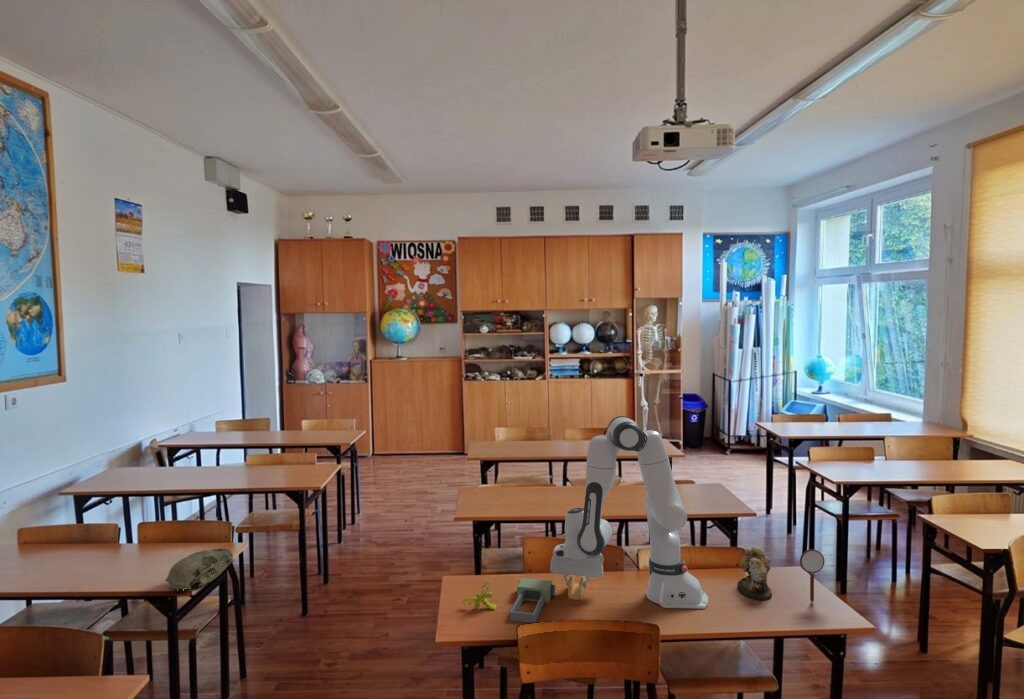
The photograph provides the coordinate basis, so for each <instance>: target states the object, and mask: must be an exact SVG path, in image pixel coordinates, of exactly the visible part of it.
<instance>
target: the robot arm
mask: <svg viewBox="0 0 1024 699" xmlns="http://www.w3.org/2000/svg"><path fill="white" fill-rule="evenodd" d="M620 450H623V451H626V452H636V455H637V460H638V463H639V467H640V474H641V477H642V481H643V485H644V487H645V490H646V492H647V493H646V494H645V497H644V504H645V505H644V506H645V510H646V518H647V527H648V532H649V545H650V546H649V553H650V554H649V555H650V556H649V558H648V559H649V560H648V572H649V579H648V586H647V590H646V593H645V595H646V598H647V599H648V600H649V601H651V602H653V603H655V604H658V605H659V606H660V607H662V608H664V609H706V608H707V607H708V606H709V597H708V594H707V593H706V592H705V591H703V589H702V586H701V584H700V581H699V580H698V578H696V577H695V576H694V575H692V574H691V573H690V572H689V571H688V567H687V564H686V561H685V560H682V559H681V538H680V535H679V531H680V530H681V529H683V528H684V527H685V526H686V524H687V521H688V515H687V511H686V508H685V507H684V504H683V501H682V498H681V495H680V492H679V489H678V487H677V484H676V480H675V479H674V476H673V473H672V472H673V471H672V467H671V463H670V458H669V454H668V450H667V447H666V445H665V441H664V440H663V437H662V435H661V434H660V433H659V432H658V431H656V430H652V429H648V430H643V429H641V427H640V426H639V425H638V423H637V422H635V421H634V420H633V419H632V418H630V417H628V416H624V415H619V416H616V417H614V418H613V419H611V420H610V422H609V424H608V425H607V427H606V428H605V430H604V432H603V434H600V435H595V436H593V437H592V438H591V439H590V441H589V444H588V448H587V453H586V454H587V455H586V469H585V471H586V473H585V476H586V477H585V481H586V482H585V497H584V504H583V505H584V506H583V507H576V508H571V509H569V511H567V512H566V514H565V517H564V519H565V521H564V534H565V540H564V543H562V544H557V545H556V546H555V547H554V549H553V552H552V553H553V555H552V557H551V558H550V559H551V560H550V565H549V566H550V572H551V573H552V574H557V575H563V579H564V580H565V582H566V583H565V584H566V586H567V587H568V581H569V579H570V578H569V577H568V576H571V575H575V577H577V576H578V577H582V576H585V581H583V587H585V588H588V582H590V579H591V578H598V579H599V578H602V577H604V576H603V575H604V565H603V564H604V561H605V560H604V559H605V558H604V555H603V554H602V552H603V550H604V549H605V547H606V545H607V544H608V543H609V542H610V541H611V539H612V537H613V536H614V535H613V534H614V531H613V527H612V525H611V523H610V522H609V521H608V520H607V519H605V518H602V510H603V504H604V500H605V499H606V498H605V497H606V496H607V494H608V493H609V491H610V489H611V488H612V486H613V485H614V482H615V478H616V470H617V456H618V453H619V451H620Z"/></svg>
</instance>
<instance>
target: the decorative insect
mask: <svg viewBox="0 0 1024 699" xmlns="http://www.w3.org/2000/svg"><path fill="white" fill-rule="evenodd" d="M490 584H491V583H490V581H489V580H485V581H484V583H483V584H482V586H481V591H480V592H481V593H479V592H477V593H476V594H475V597H466V598H464V599H463V600H462V604H463V605H464V606H469V605H472V604H474V609H477V610H479V608H480V606H481V603H482V604H483V606H485V607H486V608H489V610H492V611H496V609H497V604H495V603H492V602H491V603H490V601H488V599H492V597H493V593H492V592H489V588H490ZM469 600H470V601H469Z"/></svg>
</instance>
